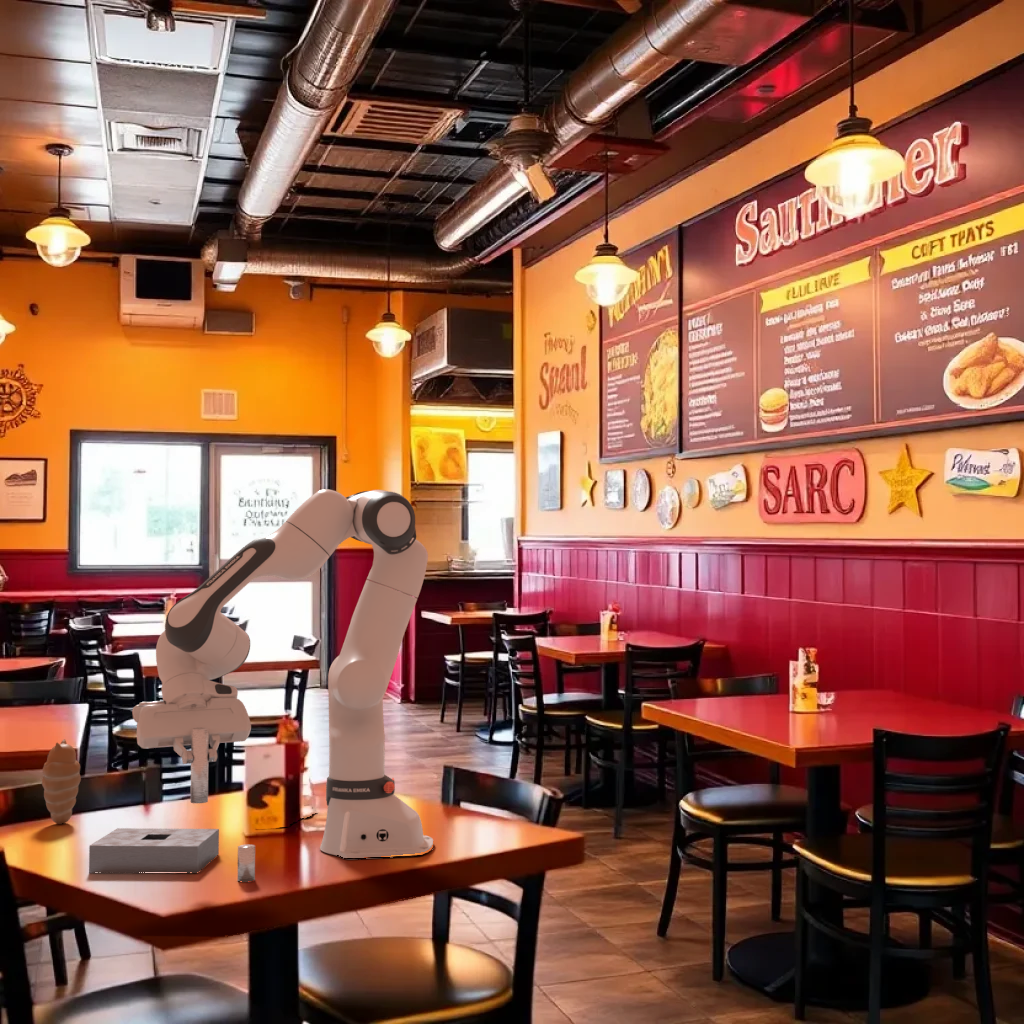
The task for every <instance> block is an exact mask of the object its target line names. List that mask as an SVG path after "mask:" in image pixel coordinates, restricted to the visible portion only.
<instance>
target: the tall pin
mask: <svg viewBox="0 0 1024 1024" xmlns="http://www.w3.org/2000/svg"><path fill="white" fill-rule="evenodd" d="M190 746H191V747H190V748H191V749H190V750H191V751H192V755H193V761H192V763H190V803H191V804H206V803H208V802H209V801H208V800H209V762H208V749H210V747H209V746H210V744H209V728H192V729H191V745H190Z"/></svg>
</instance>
